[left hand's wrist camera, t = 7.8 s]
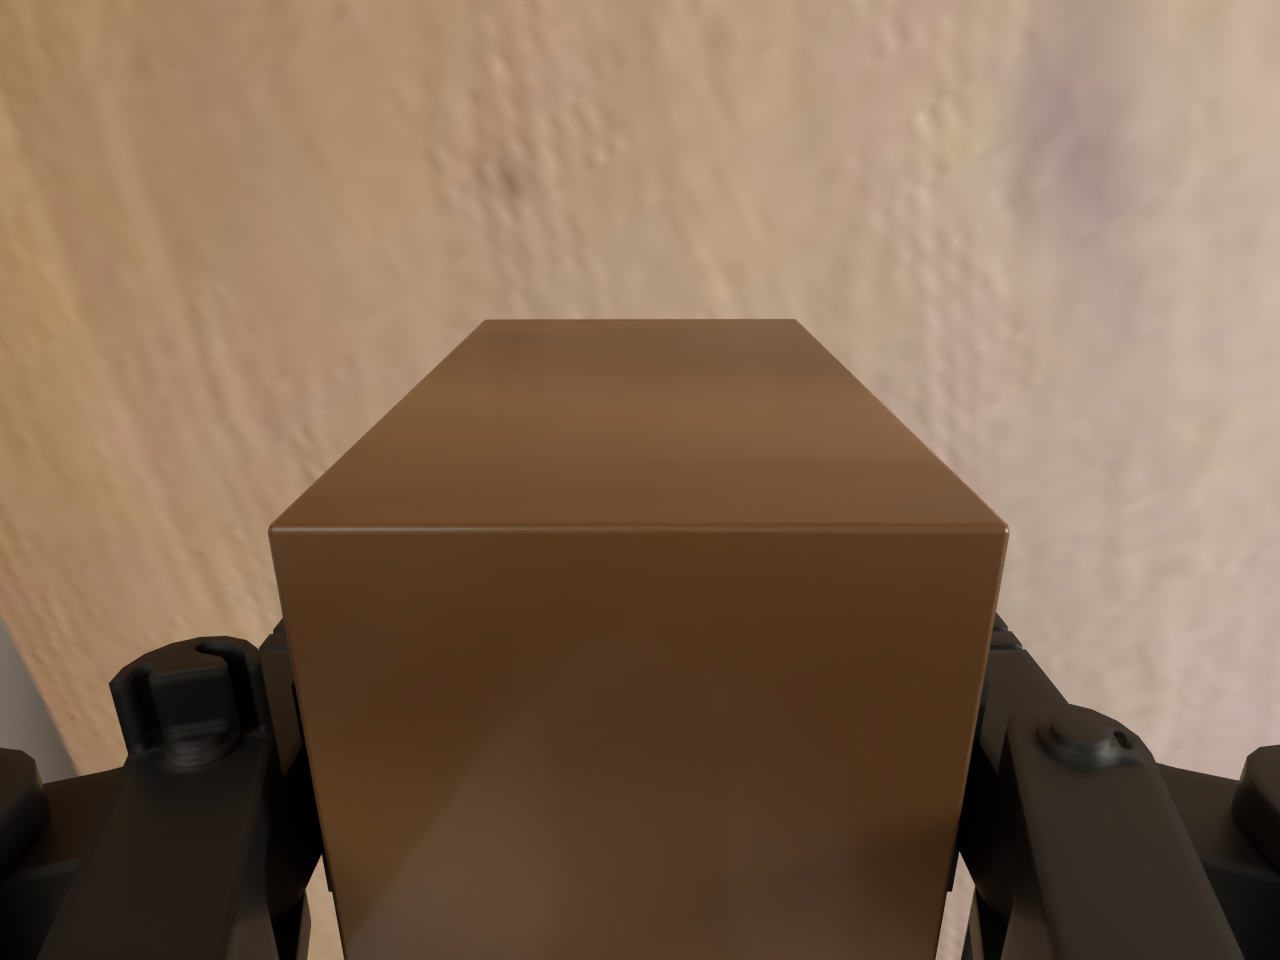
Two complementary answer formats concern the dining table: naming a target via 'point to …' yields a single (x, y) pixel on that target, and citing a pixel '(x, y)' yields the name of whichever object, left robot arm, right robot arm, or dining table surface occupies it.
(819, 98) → the dining table surface
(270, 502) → the dining table surface
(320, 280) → the dining table surface
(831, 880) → the bar
